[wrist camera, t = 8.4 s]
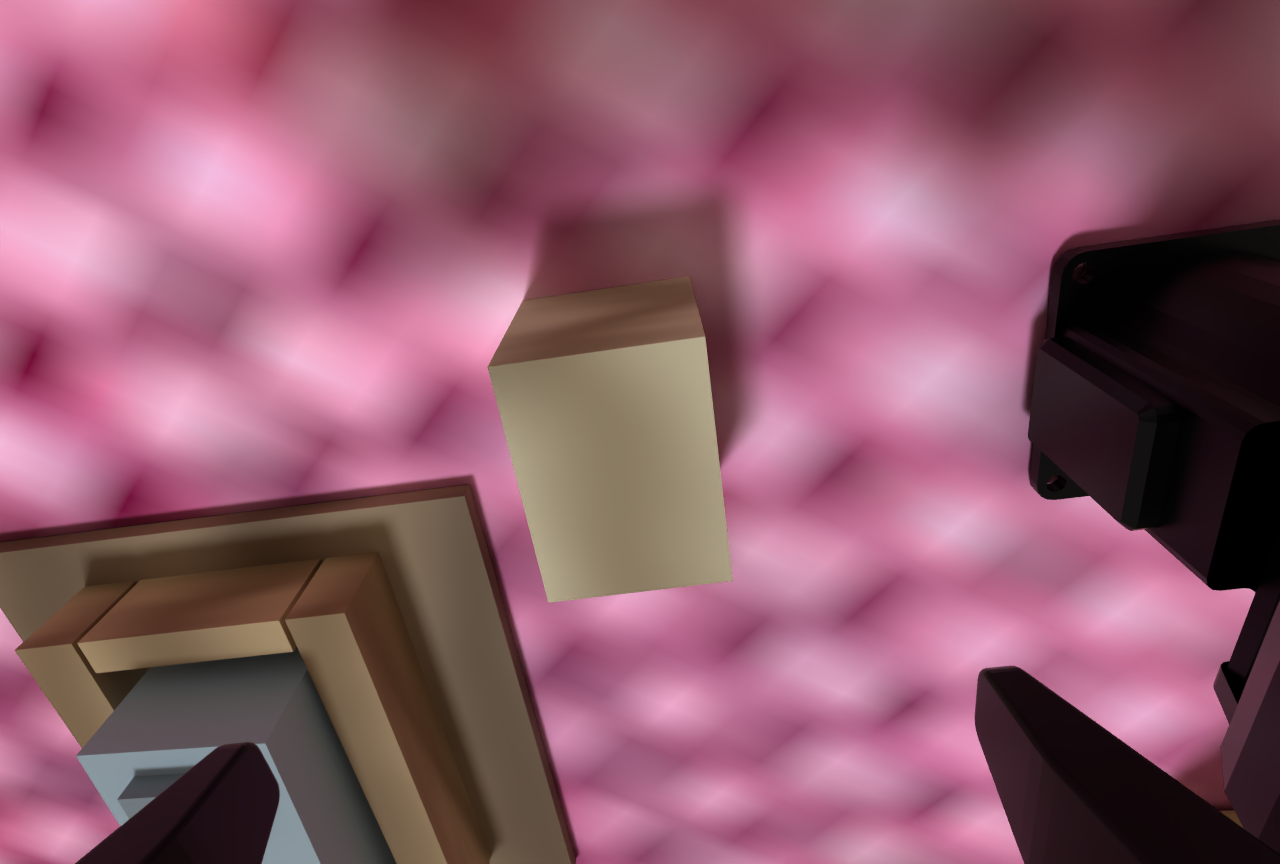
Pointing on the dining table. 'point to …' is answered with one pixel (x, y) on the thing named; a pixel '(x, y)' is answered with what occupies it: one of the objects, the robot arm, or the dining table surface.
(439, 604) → the tray
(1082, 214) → the dining table surface
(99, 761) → the grey block
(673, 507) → the tan rectangular block
